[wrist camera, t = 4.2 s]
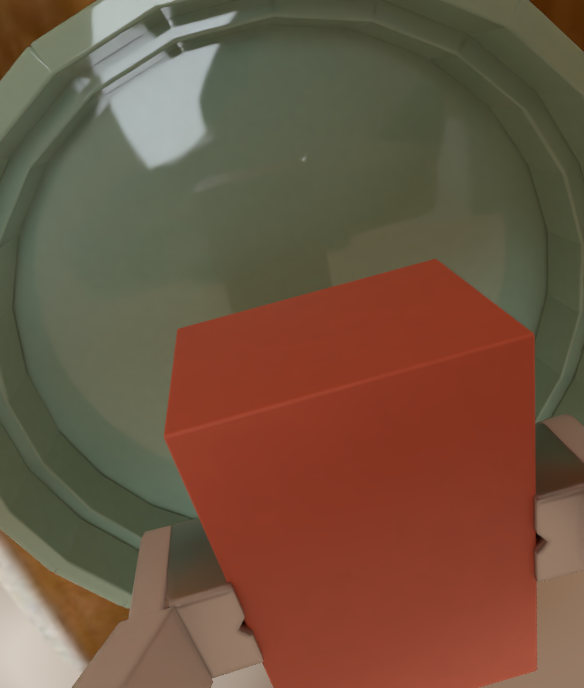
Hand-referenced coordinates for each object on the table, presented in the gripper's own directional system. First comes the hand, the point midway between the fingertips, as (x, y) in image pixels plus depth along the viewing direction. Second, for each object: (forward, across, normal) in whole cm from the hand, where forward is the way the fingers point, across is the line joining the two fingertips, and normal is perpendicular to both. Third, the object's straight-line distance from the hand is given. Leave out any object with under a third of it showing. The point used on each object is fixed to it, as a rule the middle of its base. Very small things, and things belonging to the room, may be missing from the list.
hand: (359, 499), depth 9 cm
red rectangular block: (+1, 0, 0) cm, 1 cm away
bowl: (+8, 0, 0) cm, 8 cm away
